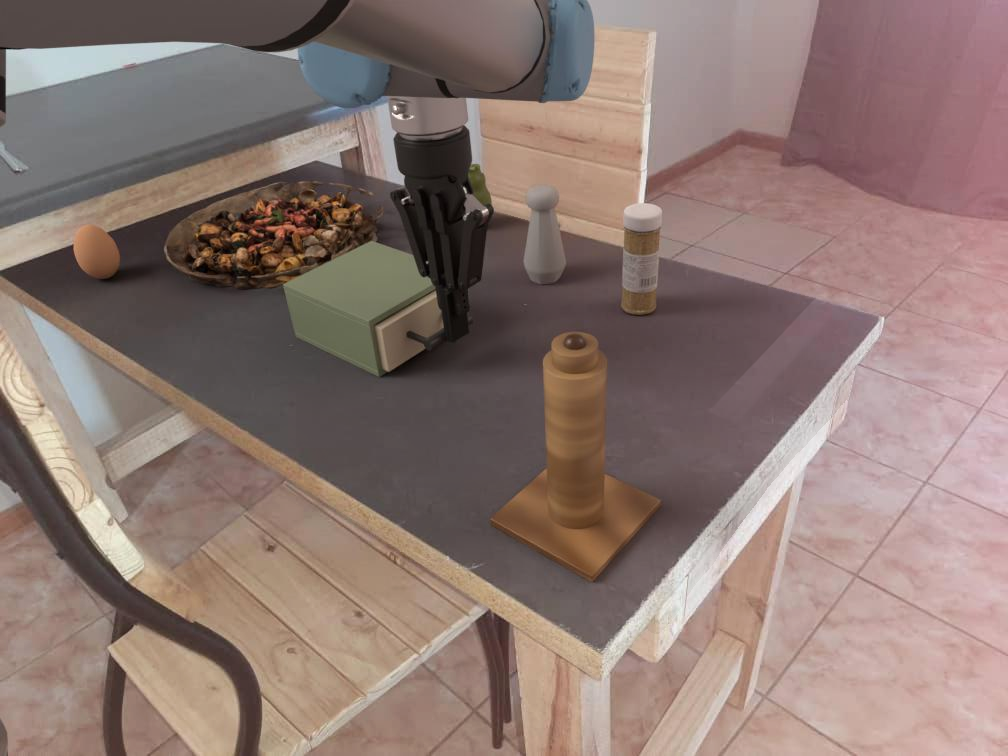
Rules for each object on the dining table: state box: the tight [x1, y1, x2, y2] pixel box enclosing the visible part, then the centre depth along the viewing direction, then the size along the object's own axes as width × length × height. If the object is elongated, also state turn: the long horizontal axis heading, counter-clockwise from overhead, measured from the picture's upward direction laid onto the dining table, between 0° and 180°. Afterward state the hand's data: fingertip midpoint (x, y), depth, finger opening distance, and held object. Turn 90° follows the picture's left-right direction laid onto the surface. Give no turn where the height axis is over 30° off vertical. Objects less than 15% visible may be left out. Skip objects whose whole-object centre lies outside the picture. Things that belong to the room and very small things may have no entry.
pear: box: [468, 163, 493, 206], centre depth 121 cm, size 6×5×10 cm
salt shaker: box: [523, 184, 567, 285], centre depth 104 cm, size 6×6×13 cm
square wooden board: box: [489, 467, 662, 583], centre depth 70 cm, size 11×11×1 cm
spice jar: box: [620, 202, 663, 316], centre depth 96 cm, size 5×5×14 cm
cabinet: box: [282, 241, 435, 378], centre depth 97 cm, size 16×15×8 cm
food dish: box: [163, 180, 384, 290], centre depth 120 cm, size 35×33×8 cm
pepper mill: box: [542, 331, 608, 529], centre depth 64 cm, size 5×5×18 cm
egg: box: [73, 224, 121, 280], centre depth 114 cm, size 6×6×8 cm
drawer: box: [374, 289, 474, 373], centre depth 94 cm, size 19×13×6 cm
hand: (457, 335), depth 89 cm, fingers closed
